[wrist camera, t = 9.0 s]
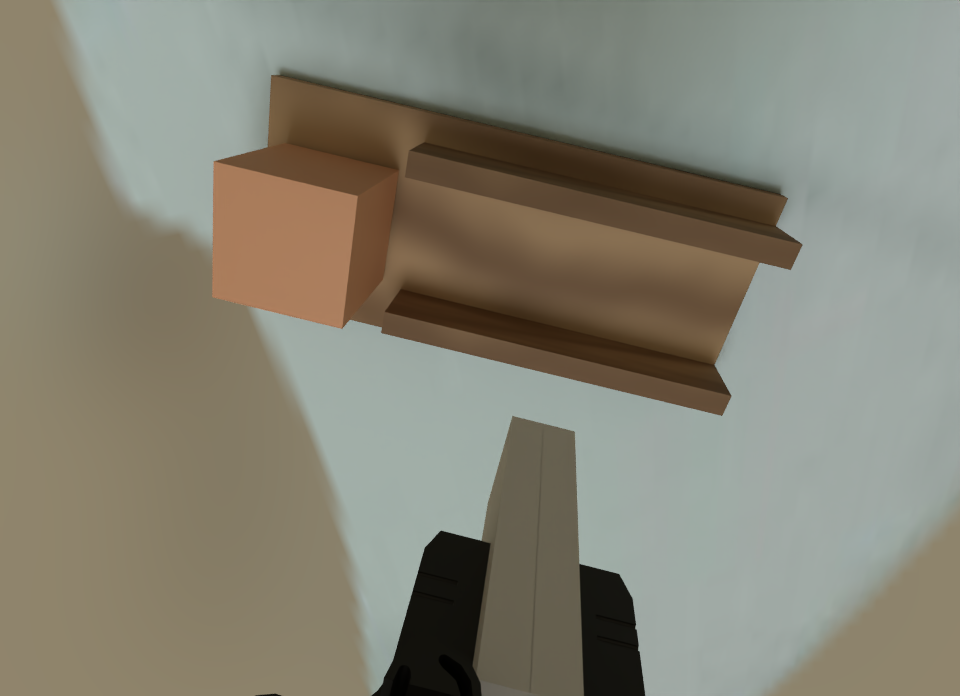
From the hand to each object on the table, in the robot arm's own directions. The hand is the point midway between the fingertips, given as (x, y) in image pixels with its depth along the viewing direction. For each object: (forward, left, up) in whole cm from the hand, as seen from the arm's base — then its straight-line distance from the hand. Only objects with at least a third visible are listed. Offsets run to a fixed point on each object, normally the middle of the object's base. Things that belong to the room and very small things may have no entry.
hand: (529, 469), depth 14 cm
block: (0, -11, -19) cm, 22 cm away
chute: (0, -2, -20) cm, 20 cm away
